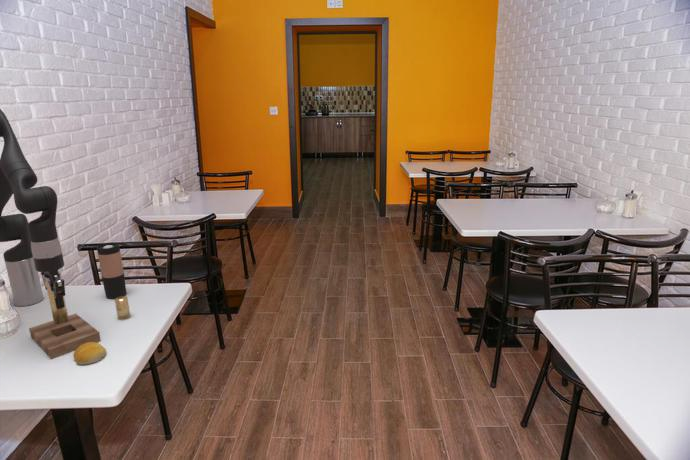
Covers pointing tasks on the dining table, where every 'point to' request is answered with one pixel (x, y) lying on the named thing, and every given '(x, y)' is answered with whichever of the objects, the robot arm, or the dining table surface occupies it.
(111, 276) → the travel mug
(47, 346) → the hole board
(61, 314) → the tall pin
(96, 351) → the bread roll
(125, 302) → the short pin
